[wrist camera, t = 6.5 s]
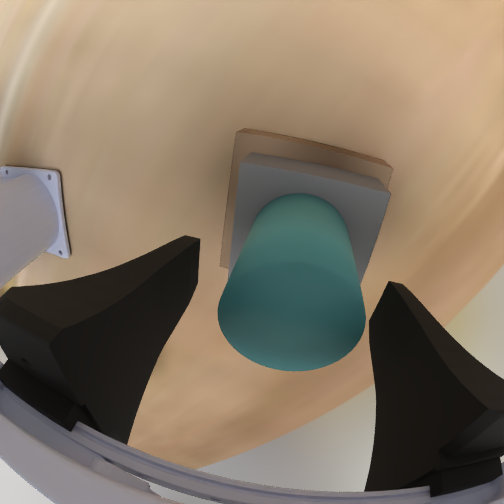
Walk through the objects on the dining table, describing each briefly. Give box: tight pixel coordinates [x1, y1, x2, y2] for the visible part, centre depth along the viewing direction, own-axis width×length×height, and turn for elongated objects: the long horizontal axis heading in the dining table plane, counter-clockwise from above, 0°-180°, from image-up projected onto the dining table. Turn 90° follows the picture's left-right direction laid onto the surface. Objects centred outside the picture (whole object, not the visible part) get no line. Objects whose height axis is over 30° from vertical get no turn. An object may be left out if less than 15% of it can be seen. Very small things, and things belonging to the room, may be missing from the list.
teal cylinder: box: [218, 193, 366, 371], centre depth 11 cm, size 4×4×6 cm
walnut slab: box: [220, 128, 393, 269], centre depth 16 cm, size 8×8×2 cm
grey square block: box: [228, 152, 391, 284], centre depth 14 cm, size 6×6×2 cm
